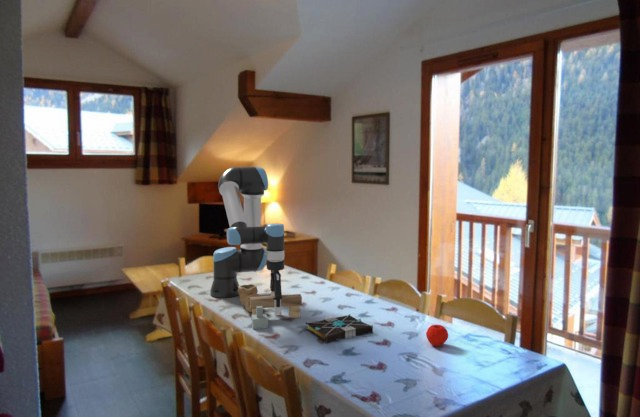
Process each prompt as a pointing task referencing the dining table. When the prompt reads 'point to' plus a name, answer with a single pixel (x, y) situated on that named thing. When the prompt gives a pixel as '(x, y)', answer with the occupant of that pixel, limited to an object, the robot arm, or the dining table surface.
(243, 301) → the pipe
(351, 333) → the book
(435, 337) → the apple
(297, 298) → the rod
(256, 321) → the block
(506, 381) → the dining table surface
